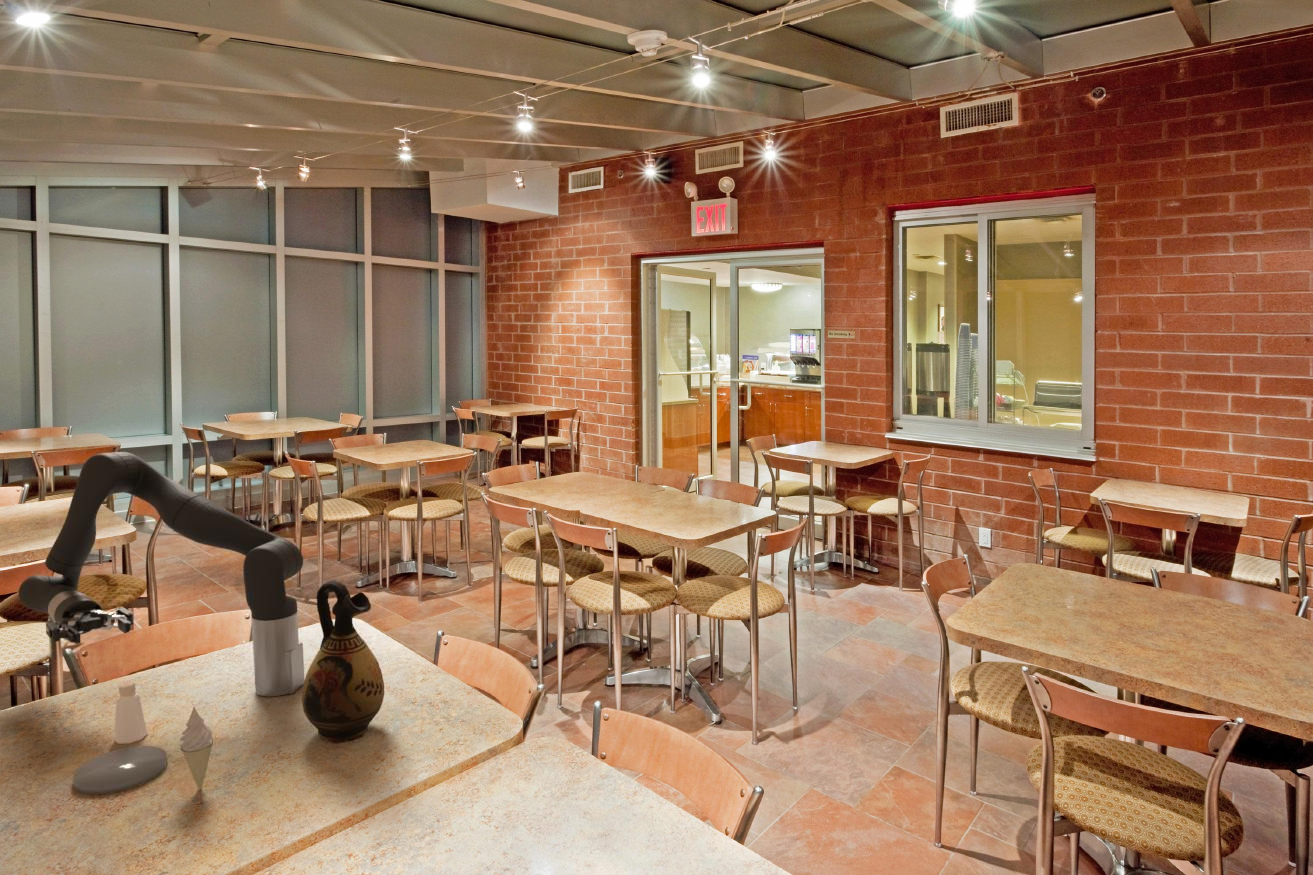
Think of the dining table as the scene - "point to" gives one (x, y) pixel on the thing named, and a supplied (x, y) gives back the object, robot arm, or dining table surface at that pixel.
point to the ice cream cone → (197, 747)
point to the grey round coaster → (120, 769)
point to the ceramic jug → (342, 671)
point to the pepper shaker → (129, 715)
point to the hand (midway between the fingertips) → (103, 633)
